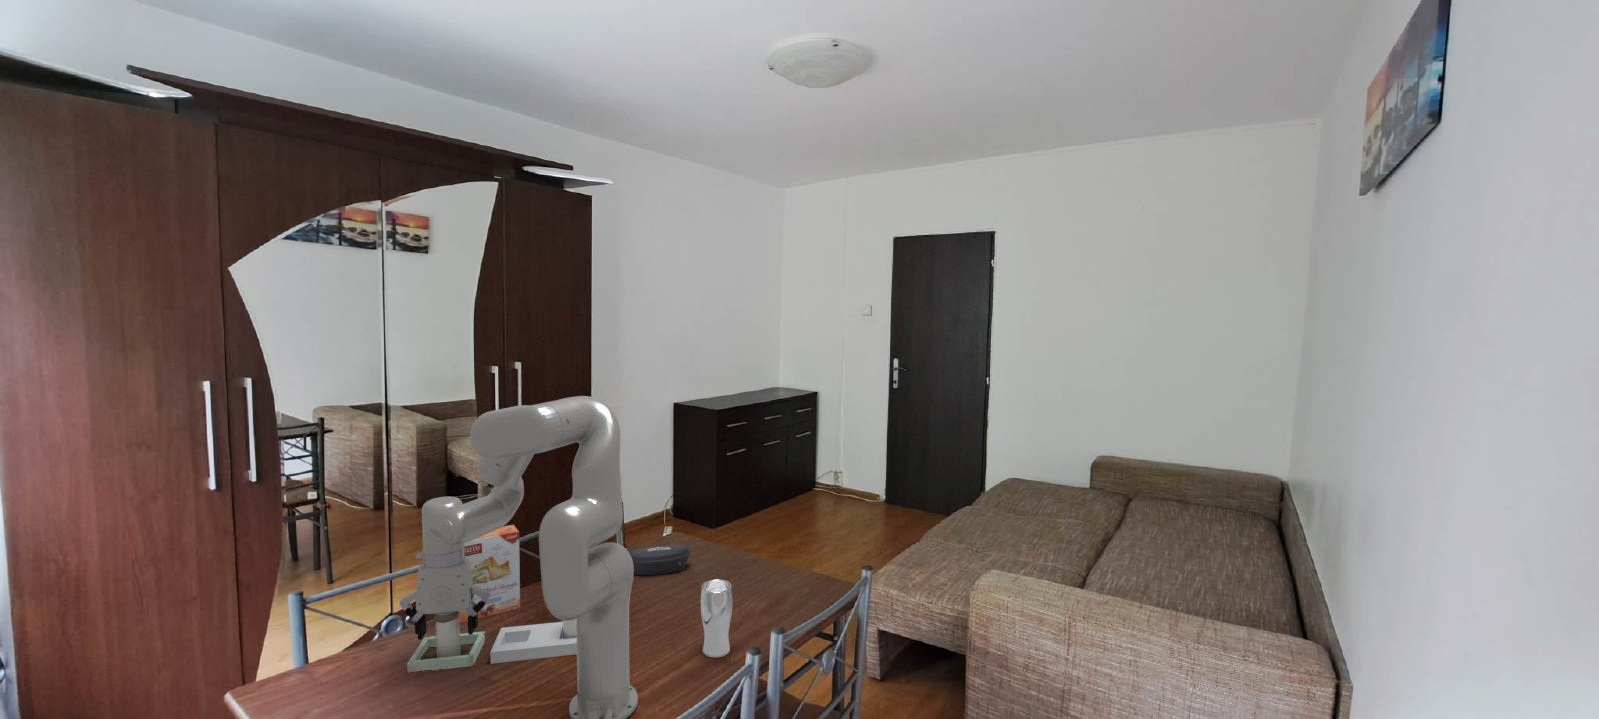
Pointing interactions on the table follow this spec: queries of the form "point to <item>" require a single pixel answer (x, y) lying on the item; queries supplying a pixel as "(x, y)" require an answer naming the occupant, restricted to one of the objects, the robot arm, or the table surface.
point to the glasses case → (660, 559)
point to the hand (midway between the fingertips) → (447, 633)
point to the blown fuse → (447, 634)
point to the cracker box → (495, 570)
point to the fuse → (569, 629)
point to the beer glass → (716, 617)
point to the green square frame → (447, 662)
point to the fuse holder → (532, 643)
